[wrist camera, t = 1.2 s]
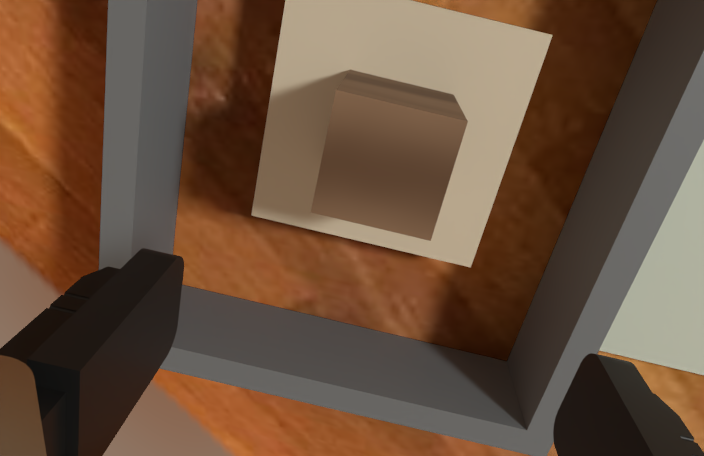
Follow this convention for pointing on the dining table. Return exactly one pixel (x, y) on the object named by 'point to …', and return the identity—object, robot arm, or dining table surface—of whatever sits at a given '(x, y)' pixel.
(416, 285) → the dining table surface
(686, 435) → the robot arm
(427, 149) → the walnut block
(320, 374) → the access box
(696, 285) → the board
